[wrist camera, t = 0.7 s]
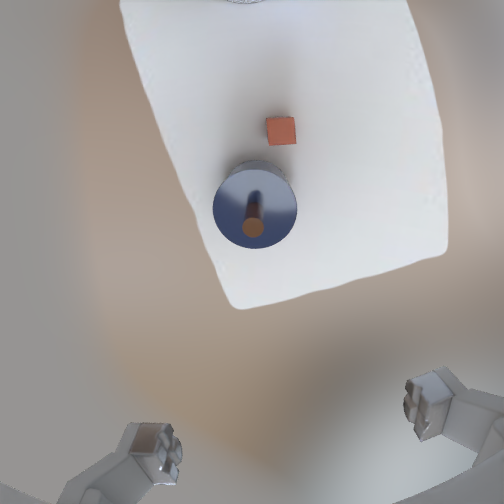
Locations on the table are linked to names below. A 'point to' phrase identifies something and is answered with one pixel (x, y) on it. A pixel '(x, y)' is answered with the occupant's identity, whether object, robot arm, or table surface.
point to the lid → (254, 208)
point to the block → (281, 130)
